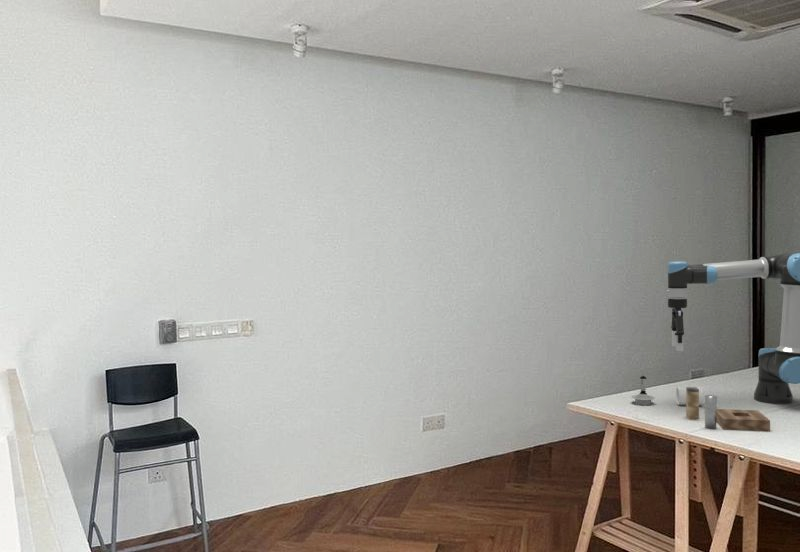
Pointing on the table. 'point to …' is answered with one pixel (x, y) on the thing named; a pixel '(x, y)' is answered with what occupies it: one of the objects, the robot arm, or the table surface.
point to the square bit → (692, 402)
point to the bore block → (742, 420)
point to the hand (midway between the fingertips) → (677, 348)
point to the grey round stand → (643, 396)
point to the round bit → (710, 411)
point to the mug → (682, 395)
